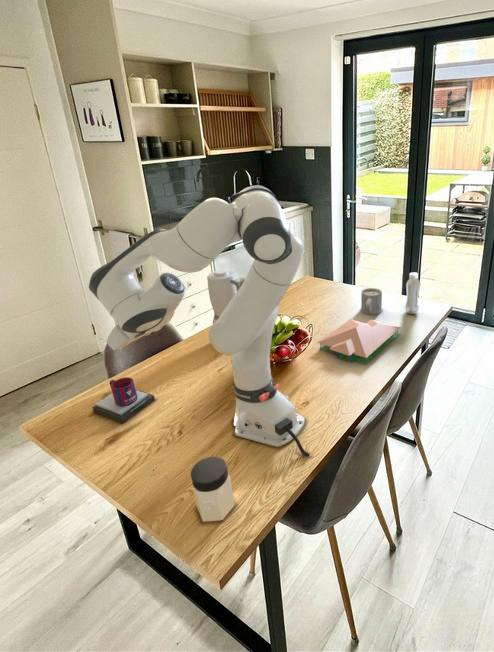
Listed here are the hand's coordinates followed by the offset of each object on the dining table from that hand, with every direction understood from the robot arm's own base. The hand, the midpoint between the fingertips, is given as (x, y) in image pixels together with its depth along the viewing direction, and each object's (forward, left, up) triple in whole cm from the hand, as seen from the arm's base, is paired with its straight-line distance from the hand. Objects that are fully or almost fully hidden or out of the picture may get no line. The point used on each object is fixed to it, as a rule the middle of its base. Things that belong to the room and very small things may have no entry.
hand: (133, 340), depth 118 cm
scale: (+12, +2, -27) cm, 30 cm away
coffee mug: (-26, -106, -28) cm, 113 cm away
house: (-36, -75, -27) cm, 88 cm away
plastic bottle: (-45, -114, -27) cm, 126 cm away
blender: (+12, -49, -28) cm, 57 cm away
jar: (-44, +14, -28) cm, 54 cm away
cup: (+12, +2, -25) cm, 27 cm away
